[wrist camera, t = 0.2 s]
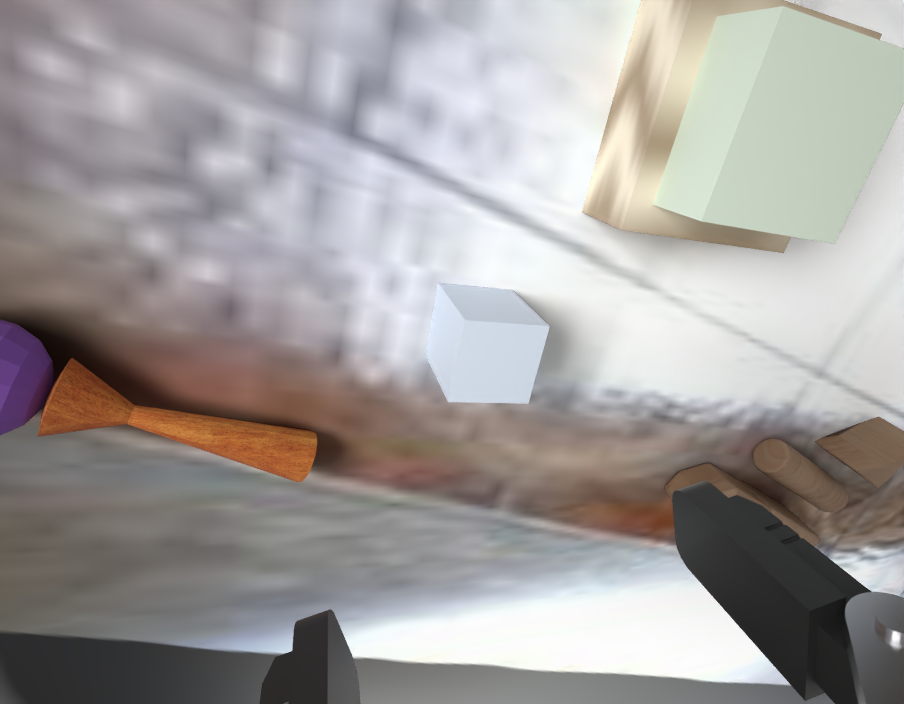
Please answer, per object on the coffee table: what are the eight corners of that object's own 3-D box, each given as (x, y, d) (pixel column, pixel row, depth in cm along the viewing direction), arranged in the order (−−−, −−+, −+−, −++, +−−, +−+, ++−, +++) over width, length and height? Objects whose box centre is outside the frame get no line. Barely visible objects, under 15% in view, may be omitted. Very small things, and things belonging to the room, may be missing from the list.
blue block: (438, 282, 33) (464, 320, 28) (511, 289, 34) (549, 326, 29) (425, 354, 35) (448, 401, 30) (495, 357, 36) (528, 403, 31)
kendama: (285, 522, 33) (-153, 448, 23) (287, 450, 38) (-79, 362, 28) (328, 463, 30) (-142, 350, 20) (325, 394, 35) (-63, 273, 25)
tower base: (640, -12, 28) (701, -28, 24) (803, 40, 32) (881, 33, 28) (578, 210, 33) (621, 229, 29) (727, 233, 37) (783, 252, 33)
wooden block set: (801, 583, 51) (696, 531, 43) (757, 539, 56) (655, 485, 47) (940, 454, 47) (855, 370, 39) (879, 419, 52) (792, 337, 43)
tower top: (716, 16, 25) (783, 6, 22) (849, 59, 28) (926, 56, 25) (652, 204, 29) (701, 221, 25) (775, 226, 32) (834, 244, 28)
